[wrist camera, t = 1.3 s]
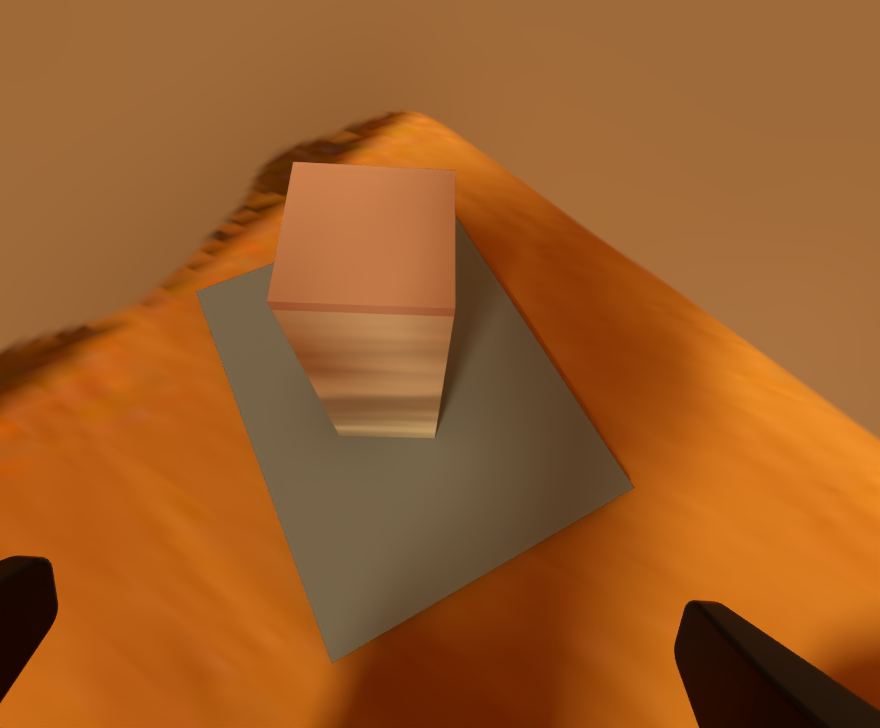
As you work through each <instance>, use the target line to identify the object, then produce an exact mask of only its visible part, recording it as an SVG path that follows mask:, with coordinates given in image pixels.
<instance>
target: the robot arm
mask: <svg viewBox="0 0 880 728" xmlns="http://www.w3.org/2000/svg"><path fill="white" fill-rule="evenodd" d="M57 611H58V600H57V593H56V587H55V581H54V574H53V568H52V564H51V563H50V561H49V560H48V559H46V558H44V557H35V556H12V557H8V558H6V559H3V560H1V561H0V703H1V701H2V700H3V698H4V697H5V695H6V694H7V692H8V691H9V689H10V688H11V686H12V685H13V683H14V682H15V680H16V679H17V677H18V676H19V674H20V673H21V671H22V670H23V668H24V667H25V665H26V664H27V662H28V661H29V659H30V658H31V656H32V655H33V654H34V652H35V651H36V649H37V648H38V646H39V645H40V643H41V642H42V640H43V639H44V637H45V636H46V634H47V633H48V631H49V630H50V628H51V626H52V625H53V623H54V620H55V618H56V615H57ZM674 653H675V660H676V664H677V667H678V670H679V673H680V675H681V678H682V681H683V684H684V687H685V689H686V692H687V695H688V698H689V701H690V703H691V706H692V709H693V712H694V715H695V717H696V720H697V723H698V726H699V728H880V711H879V710H878V709H876V708H875V707H873V706H872V705H870V704H869V703H868V702H866V701H865V700H863V699H862V698H860V697H859V696H857V695H856V694H854V693H853V692H851V691H850V690H848V689H847V688H845V687H844V686H842V685H841V684H839V683H838V682H837V681H835V680H834V679H832V678H831V677H829V676H828V675H826V674H825V673H823V672H822V671H820V670H819V669H817V668H816V667H814V666H813V665H811V664H810V663H808V662H807V661H806V660H804V659H803V658H801V657H800V656H798V655H797V654H795V653H794V652H792V651H791V650H789V649H788V648H786V647H785V646H783V645H782V644H780V643H779V642H777V641H776V640H775V639H773V638H772V637H770V636H769V635H767V634H766V633H764V632H763V631H761V630H760V629H758V628H757V627H755V626H754V625H752V624H751V623H749V622H748V621H747V620H745V619H744V618H742V617H741V616H739V615H738V614H736V613H735V612H733V611H732V610H730V609H729V608H727V607H726V606H724V605H723V604H721V603H719V602H714V601H700V600H693V601H690V602H688V603H687V605H686V606H685V609H684V612H683V616H682V619H681V623H680V627H679V630H678V634H677V637H676V641H675V646H674Z"/></svg>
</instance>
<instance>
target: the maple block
mask: <svg viewBox="0 0 880 728" xmlns="http://www.w3.org/2000/svg"><path fill="white" fill-rule="evenodd" d="M267 302H268V304H269V306H270V308H271V310H272V312H273V313H274V315H275V317H276V319H277V321H278V323H279V325H280V326H281V328H282V330H283V332H284V334H285V336H286V338H287V339H288V341H289V343H290V345H291V347H292V349H293V351H294V352H295V354H296V356H297V358H298V360H299V362H300V364H301V365H302V367H303V369H304V371H305V373H306V375H307V377H308V378H309V380H310V382H311V384H312V386H313V388H314V390H315V391H316V393H317V395H318V397H319V399H320V401H321V403H322V404H323V406H324V408H325V410H326V412H327V414H328V415H329V417H330V419H331V421H332V423H333V425H334V427H335V428H336V430H337V432H338V434H339V436H372V437H411V438H435V433H436V426H437V420H438V414H439V408H440V401H441V395H442V389H443V383H444V376H445V370H446V364H447V358H448V351H449V345H450V339H451V333H452V326H453V320H454V314H455V170H441V169H422V168H402V167H382V166H362V165H342V164H323V163H303V162H293V167H292V172H291V177H290V183H289V188H288V193H287V198H286V204H285V209H284V214H283V219H282V225H281V230H280V235H279V241H278V246H277V251H276V256H275V262H274V267H273V272H272V277H271V283H270V288H269V293H268V299H267Z"/></svg>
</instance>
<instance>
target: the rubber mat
mask: <svg viewBox="0 0 880 728" xmlns="http://www.w3.org/2000/svg"><path fill="white" fill-rule="evenodd" d="M273 267H274V263H273V264H271V265H268V266H265V267H262V268H259V269H257V270H254V271H251V272H248V273H246V274H243V275H240V276H237V277H235V278H232V279H229V280H226V281H224V282H221V283H218V284H215V285H213V286H210V287H207V288H204V289H201V290H199V291H196V293H197V296H198V298H199V301H200V304H201V307H202V309H203V312H204V315H205V318H206V320H207V323H208V326H209V328H210V331H211V334H212V337H213V339H214V342H215V345H216V348H217V350H218V353H219V356H220V359H221V361H222V364H223V367H224V370H225V372H226V375H227V378H228V381H229V383H230V386H231V389H232V391H233V394H234V397H235V400H236V402H237V405H238V408H239V411H240V413H241V416H242V419H243V422H244V424H245V427H246V430H247V433H248V435H249V438H250V441H251V443H252V446H253V449H254V452H255V454H256V457H257V460H258V463H259V465H260V468H261V471H262V474H263V476H264V479H265V482H266V485H267V487H268V490H269V493H270V496H271V498H272V501H273V504H274V506H275V509H276V512H277V515H278V517H279V520H280V523H281V526H282V528H283V531H284V534H285V537H286V539H287V542H288V545H289V548H290V550H291V553H292V556H293V558H294V561H295V564H296V567H297V569H298V572H299V575H300V578H301V580H302V583H303V586H304V589H305V591H306V594H307V597H308V600H309V602H310V605H311V608H312V610H313V613H314V616H315V619H316V621H317V624H318V627H319V630H320V632H321V635H322V638H323V641H324V643H325V646H326V649H327V652H328V654H329V657H330V660H331V663H333V662H335V661H337V660H338V659H340V658H342V657H344V656H345V655H347V654H349V653H350V652H352V651H354V650H356V649H357V648H359V647H361V646H362V645H364V644H366V643H368V642H369V641H371V640H373V639H374V638H376V637H378V636H380V635H381V634H383V633H385V632H387V631H388V630H390V629H392V628H393V627H395V626H397V625H399V624H400V623H402V622H404V621H405V620H407V619H409V618H411V617H412V616H414V615H416V614H418V613H419V612H421V611H423V610H424V609H426V608H428V607H430V606H431V605H433V604H435V603H436V602H438V601H440V600H442V599H443V598H445V597H447V596H448V595H450V594H452V593H454V592H455V591H457V590H459V589H461V588H462V587H464V586H466V585H467V584H469V583H471V582H473V581H474V580H476V579H478V578H479V577H481V576H483V575H485V574H486V573H488V572H490V571H492V570H493V569H495V568H497V567H498V566H500V565H502V564H504V563H505V562H507V561H509V560H510V559H512V558H514V557H516V556H517V555H519V554H521V553H523V552H524V551H526V550H528V549H529V548H531V547H533V546H535V545H536V544H538V543H540V542H541V541H543V540H545V539H547V538H548V537H550V536H552V535H553V534H555V533H557V532H559V531H560V530H562V529H564V528H566V527H567V526H569V525H571V524H572V523H574V522H576V521H578V520H579V519H581V518H583V517H584V516H586V515H588V514H590V513H591V512H593V511H595V510H597V509H598V508H600V507H602V506H603V505H605V504H607V503H609V502H610V501H612V500H614V499H615V498H617V497H619V496H621V495H622V494H624V493H626V492H627V491H629V490H631V489H633V488H634V486H633V485H632V483H631V482H630V480H629V479H628V477H627V476H626V474H625V473H624V471H623V470H622V468H621V467H620V465H619V464H618V462H617V461H616V459H615V457H614V456H613V454H612V453H611V451H610V450H609V448H608V447H607V445H606V444H605V442H604V441H603V439H602V438H601V436H600V435H599V433H598V432H597V430H596V429H595V427H594V426H593V424H592V422H591V421H590V419H589V418H588V416H587V415H586V413H585V412H584V410H583V409H582V407H581V406H580V404H579V403H578V401H577V400H576V398H575V397H574V395H573V394H572V392H571V391H570V389H569V387H568V386H567V384H566V383H565V381H564V380H563V378H562V377H561V375H560V374H559V372H558V371H557V369H556V368H555V366H554V365H553V363H552V362H551V360H550V359H549V357H548V356H547V354H546V352H545V351H544V349H543V348H542V346H541V345H540V343H539V342H538V340H537V339H536V337H535V336H534V334H533V333H532V331H531V330H530V328H529V327H528V325H527V324H526V322H525V321H524V319H523V317H522V316H521V314H520V313H519V311H518V310H517V308H516V307H515V305H514V304H513V302H512V301H511V299H510V298H509V296H508V295H507V293H506V292H505V290H504V289H503V287H502V286H501V284H500V282H499V281H498V279H497V278H496V276H495V275H494V273H493V272H492V270H491V269H490V267H489V266H488V264H487V263H486V261H485V260H484V258H483V257H482V255H481V254H480V252H479V251H478V249H477V247H476V246H475V244H474V243H473V241H472V240H471V238H470V237H469V235H468V234H467V232H466V231H465V229H464V228H463V226H462V225H461V223H460V222H459V220H458V219H457V217H456V216H455V314H454V320H453V326H452V333H451V339H450V345H449V351H448V358H447V364H446V370H445V376H444V383H443V389H442V395H441V401H440V408H439V414H438V420H437V426H436V433H435V438H411V437H372V436H339V434H338V432H337V430H336V428H335V427H334V425H333V423H332V421H331V419H330V417H329V415H328V414H327V412H326V410H325V408H324V406H323V404H322V403H321V401H320V399H319V397H318V395H317V393H316V391H315V390H314V388H313V386H312V384H311V382H310V380H309V378H308V377H307V375H306V373H305V371H304V369H303V367H302V365H301V364H300V362H299V360H298V358H297V356H296V354H295V352H294V351H293V349H292V347H291V345H290V343H289V341H288V339H287V338H286V336H285V334H284V332H283V330H282V328H281V326H280V325H279V323H278V321H277V319H276V317H275V315H274V313H273V312H272V310H271V308H270V306H269V304H268V302H267V299H268V293H269V288H270V283H271V277H272V272H273Z"/></svg>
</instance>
